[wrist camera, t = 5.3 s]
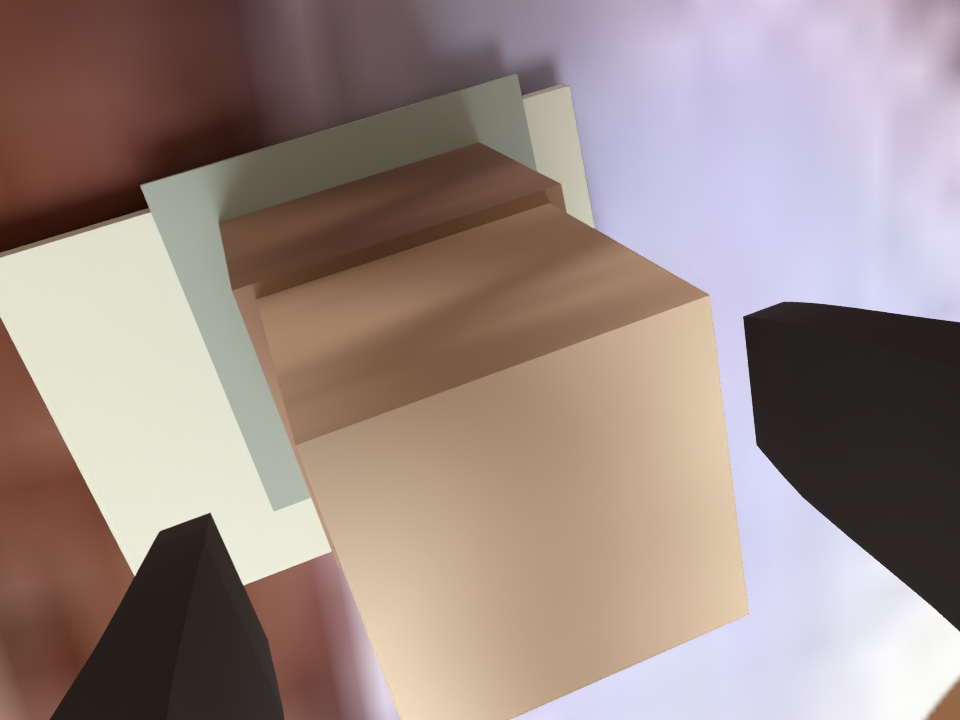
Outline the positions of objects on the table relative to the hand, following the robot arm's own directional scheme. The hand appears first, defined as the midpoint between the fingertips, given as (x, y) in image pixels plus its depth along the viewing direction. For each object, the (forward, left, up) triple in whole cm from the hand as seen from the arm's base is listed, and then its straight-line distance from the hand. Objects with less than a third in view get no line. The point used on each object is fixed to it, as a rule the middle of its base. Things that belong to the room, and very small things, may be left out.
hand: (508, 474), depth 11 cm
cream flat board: (+1, +1, -7) cm, 8 cm away
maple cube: (0, 0, -3) cm, 3 cm away
